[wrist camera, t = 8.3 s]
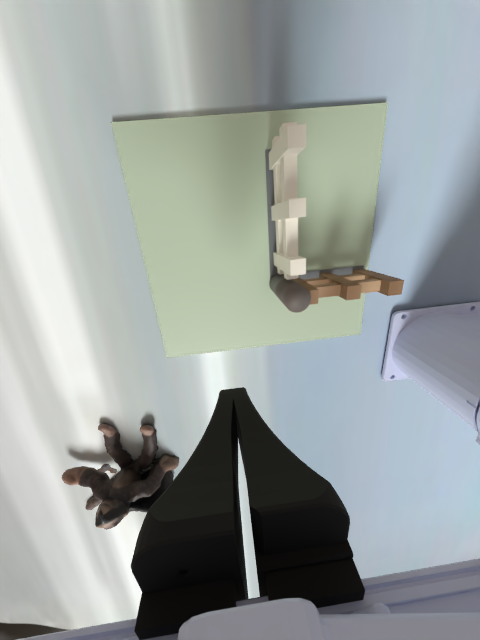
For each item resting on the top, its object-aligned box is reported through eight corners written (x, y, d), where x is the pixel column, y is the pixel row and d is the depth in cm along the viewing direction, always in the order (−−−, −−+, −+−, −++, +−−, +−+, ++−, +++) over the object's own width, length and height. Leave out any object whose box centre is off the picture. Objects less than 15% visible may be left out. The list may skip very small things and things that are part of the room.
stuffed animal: (185, 429, 25) (161, 567, 22) (186, 413, 34) (169, 508, 31) (63, 418, 23) (19, 568, 20) (100, 405, 32) (73, 505, 29)
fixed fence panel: (362, 263, 21) (408, 274, 16) (360, 283, 21) (403, 300, 16) (268, 273, 20) (284, 288, 15) (268, 293, 21) (285, 314, 16)
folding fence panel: (285, 269, 20) (305, 281, 15) (274, 270, 19) (290, 283, 15) (282, 143, 16) (306, 111, 12) (268, 144, 16) (287, 113, 12)
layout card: (384, 104, 17) (388, 101, 16) (358, 332, 23) (361, 334, 23) (112, 124, 16) (110, 121, 15) (167, 356, 22) (166, 358, 22)
